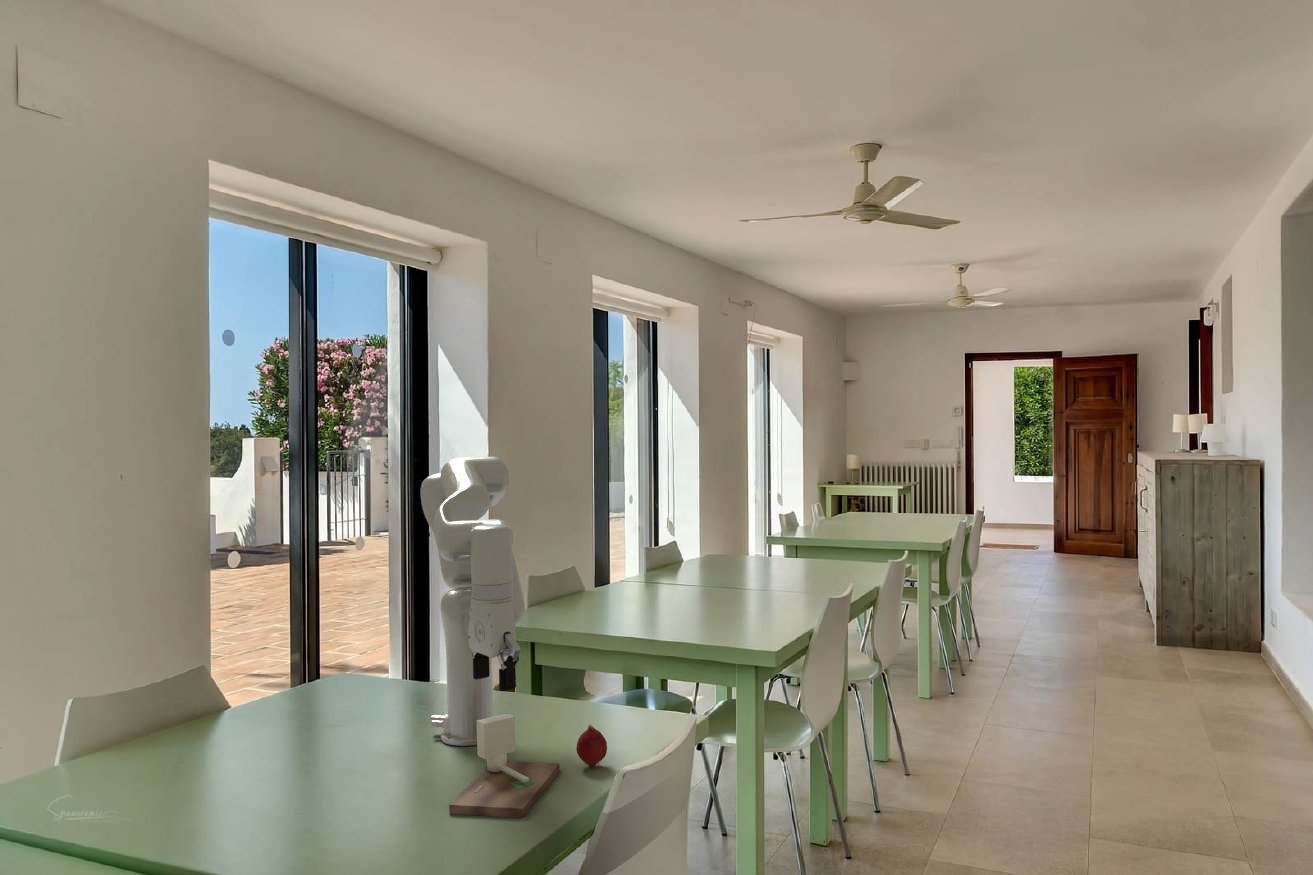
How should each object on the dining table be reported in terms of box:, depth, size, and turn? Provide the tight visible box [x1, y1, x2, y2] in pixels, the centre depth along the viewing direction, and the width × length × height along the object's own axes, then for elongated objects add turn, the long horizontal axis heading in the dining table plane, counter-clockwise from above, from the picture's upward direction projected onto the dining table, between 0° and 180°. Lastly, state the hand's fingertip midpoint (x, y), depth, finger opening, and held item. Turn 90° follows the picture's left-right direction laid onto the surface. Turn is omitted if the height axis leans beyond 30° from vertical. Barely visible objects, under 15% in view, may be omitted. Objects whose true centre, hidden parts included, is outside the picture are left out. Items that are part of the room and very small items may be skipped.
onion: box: [575, 723, 608, 768], centre depth 173 cm, size 6×6×8 cm
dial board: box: [448, 760, 561, 819], centre depth 162 cm, size 13×21×2 cm, turn 169°
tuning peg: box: [476, 712, 529, 782], centre depth 165 cm, size 12×6×9 cm, turn 39°
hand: (494, 683), depth 169 cm, fingers open, 9 cm apart
